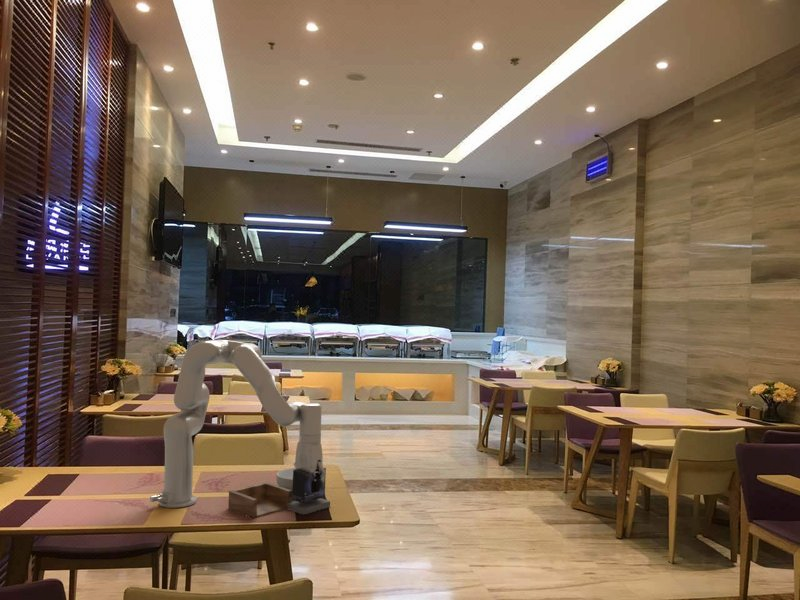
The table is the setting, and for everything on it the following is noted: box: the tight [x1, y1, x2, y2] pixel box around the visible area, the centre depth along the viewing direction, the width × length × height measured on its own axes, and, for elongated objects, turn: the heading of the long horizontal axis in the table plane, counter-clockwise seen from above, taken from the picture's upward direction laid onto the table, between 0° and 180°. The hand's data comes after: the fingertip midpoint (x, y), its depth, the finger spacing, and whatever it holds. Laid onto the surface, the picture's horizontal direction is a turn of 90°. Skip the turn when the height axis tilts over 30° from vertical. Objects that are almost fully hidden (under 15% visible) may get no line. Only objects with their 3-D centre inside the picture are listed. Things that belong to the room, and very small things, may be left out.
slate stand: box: [286, 498, 331, 516], centre depth 213 cm, size 12×9×2 cm
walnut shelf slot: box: [228, 481, 293, 519], centre depth 211 cm, size 16×14×6 cm
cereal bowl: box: [276, 467, 296, 490], centre depth 232 cm, size 17×17×7 cm
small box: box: [292, 467, 327, 503], centre depth 213 cm, size 11×6×10 cm, turn 141°
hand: (308, 489), depth 213 cm, fingers closed on small box, 6 cm apart
